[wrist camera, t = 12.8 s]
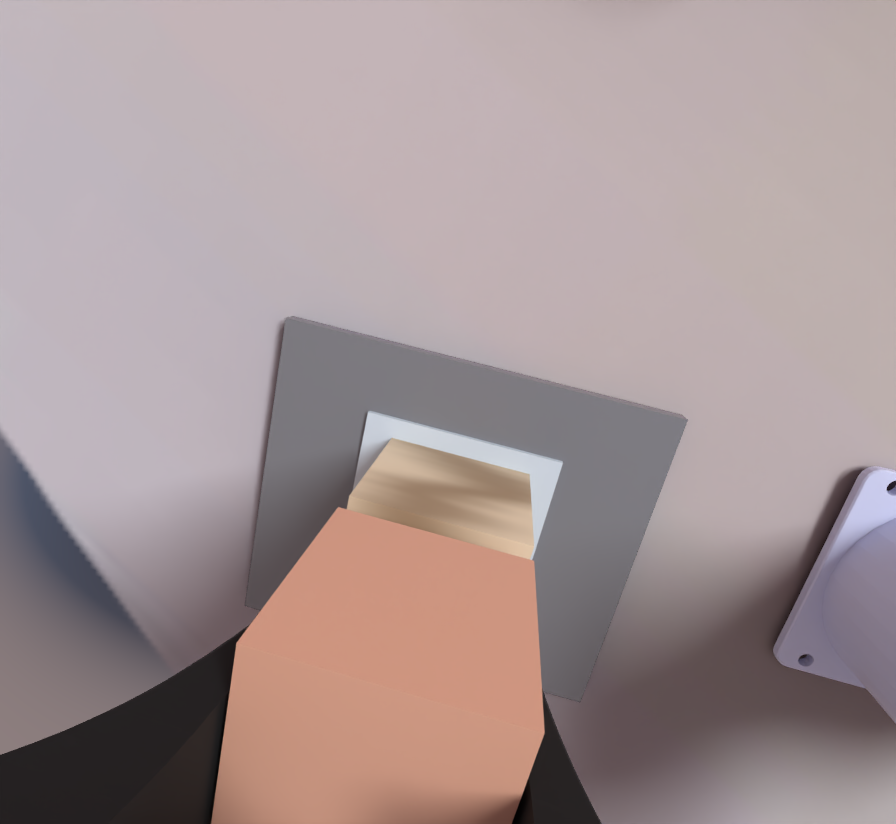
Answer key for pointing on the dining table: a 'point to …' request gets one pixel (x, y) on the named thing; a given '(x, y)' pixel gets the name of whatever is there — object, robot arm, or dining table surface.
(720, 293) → the dining table surface
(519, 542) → the beech block
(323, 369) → the baseplate
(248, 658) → the terracotta block
